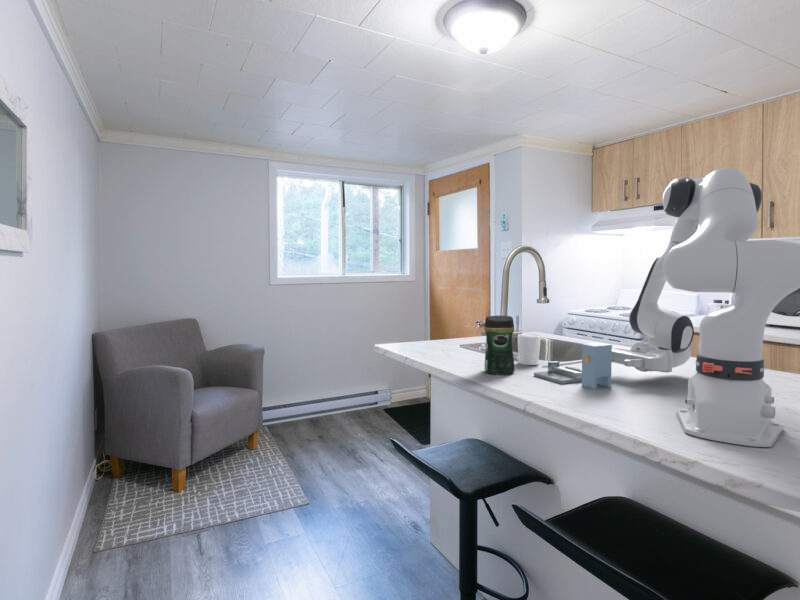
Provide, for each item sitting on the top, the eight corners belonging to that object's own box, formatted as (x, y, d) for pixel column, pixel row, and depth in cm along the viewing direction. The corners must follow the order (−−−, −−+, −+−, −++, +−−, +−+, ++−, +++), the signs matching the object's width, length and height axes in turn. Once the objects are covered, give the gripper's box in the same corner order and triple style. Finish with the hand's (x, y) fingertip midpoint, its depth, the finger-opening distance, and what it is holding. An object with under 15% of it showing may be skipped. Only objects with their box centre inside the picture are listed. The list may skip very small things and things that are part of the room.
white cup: (544, 363, 166) (544, 335, 165) (533, 366, 160) (534, 337, 159) (524, 360, 171) (524, 333, 170) (513, 363, 165) (513, 335, 165)
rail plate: (597, 379, 141) (597, 366, 141) (561, 384, 135) (562, 370, 135) (567, 371, 152) (568, 359, 152) (534, 375, 146) (534, 363, 146)
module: (611, 386, 132) (611, 344, 131) (592, 389, 129) (593, 346, 128) (598, 383, 136) (599, 342, 135) (580, 386, 133) (580, 344, 132)
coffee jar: (512, 369, 155) (512, 314, 154) (515, 375, 147) (516, 316, 146) (483, 369, 156) (483, 314, 155) (485, 374, 148) (485, 316, 147)
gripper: (616, 341, 149) (584, 344, 144) (677, 351, 131) (643, 355, 125) (616, 361, 150) (584, 364, 144) (677, 373, 131) (643, 378, 126)
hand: (612, 360), depth 135 cm, fingers open, 8 cm apart
